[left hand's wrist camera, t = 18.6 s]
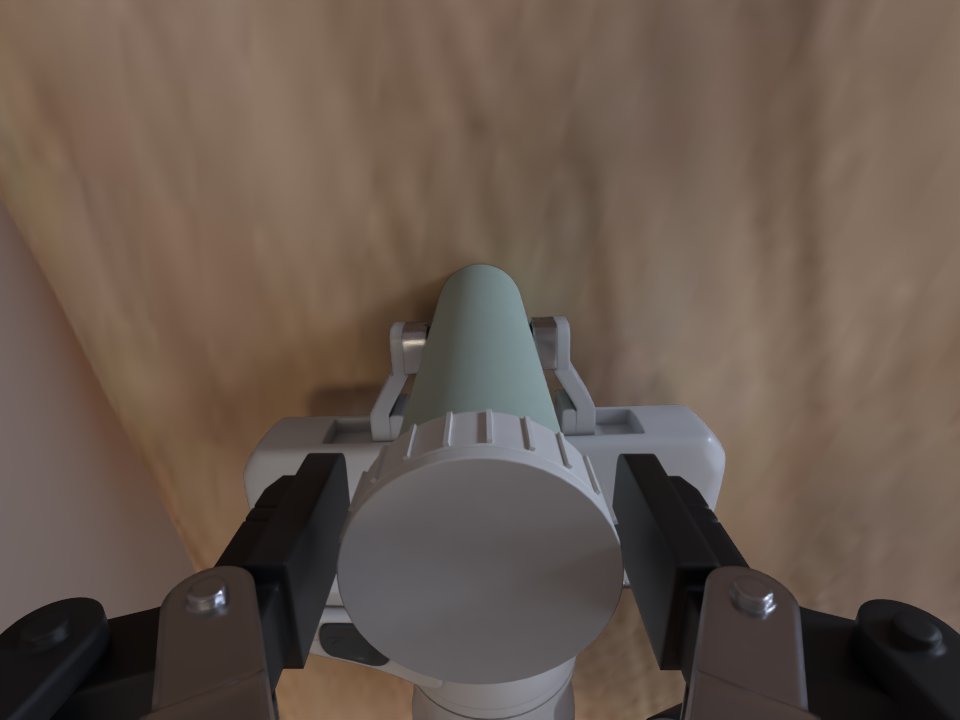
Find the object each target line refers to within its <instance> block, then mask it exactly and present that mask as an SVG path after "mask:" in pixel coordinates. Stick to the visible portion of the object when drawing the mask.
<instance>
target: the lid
mask: <svg viewBox="0 0 960 720" xmlns="http://www.w3.org/2000/svg"><path fill="white" fill-rule="evenodd" d="M348 511H349V513H348V515H347V518H346V521H345V523H344V526H343V529H342V531H341V534H340V537H339V541H338V543H340V546H339V551H338V557H337V583H338V588H339V594H340V597H341V600H342V602H343V605H344V608H345V610H346V612H347V614H348V616H349V618H350V620H351V621H352V623H353V624H354V626H355V627H356V628H357V630H358V631H359V632H360V634H361V635H362V636H363V637H364V638H365V639H366V640H367V641H368V642H369V643H370V644H371V645H372V646H373V647H374V648H376V649H377V650H378V651H379V652H380V653H382V654H383V655H384V656H386V657H387V658H389V659H391V660H392V661H394V662H395V663H397V664H399V665H401V666H403V667H405V668H407V669H409V670H411V671H413V672H416V673H419V674H422V675H424V676H427V677H431V678H434V679H438V680H442V681H448V682H454V683H460V684H475V685H481V684H499V683H507V682H513V681H518V680H522V679H527V678H530V677H533V676H536V675H539V674H542V673H545V672H547V671H549V670H551V669H554V668H556V667H558V666H560V665H562V664H563V663H565V662H567V661H569V660H570V659H572V658H573V657H575V656H576V655H577V654H579V653H580V652H581V651H583V650H584V649H585V648H587V647H588V646H589V645H590V644H591V643H592V642H593V641H594V640H595V639H596V638H597V637H598V635H599V634H600V633H601V632H602V630H603V629H604V628H605V627H606V625H607V624H608V622H609V620H610V619H611V617H612V615H613V614H614V612H615V609H616V607H617V604H618V602H619V599H620V596H621V591H622V587H623V581H624V559H623V551H622V548H621V544H620V541H619V537H618V535H617V532H616V529H615V527H614V525H616V524H618V522H617V519H616V516H615V514H614V511H613V508H612V506H611V503H610V500H609V498H608V495H607V492H606V490H605V487H604V485H603V483H601V484H599V483H598V481H597V479H596V476H595V474H594V471H593V468H592V465H591V463H590V460H589V458H588V456H587V455H584V456H582V455H581V454H580V453H579V452H578V451H577V450H576V448H574V447H573V446H572V445H571V444H570V443H569V442H567V441H566V440H565V438H564V434H563V433H561V432H560V431H559V432H558V433H557V434H556V433H555V432H553V431H552V430H550V429H548V428H546V427H544V426H542V425H540V424H538V423H536V422H534V421H531V420H530V417H529V416H524V418H521V417H518V416H514V415H509V414H504V413H497V412H492V410H491V409H486V412H484V411H482V412H463V413H457V414H452V411H451V412H447V413H446V416H443V417H439V418H436V419H432V420H430V421H428V422H425V423H423V424H421V425H418V426H416V424H413V425H411V426H410V430H409V431H407V432H406V433H404V434H402V435H401V436H400V437H398V438H397V439H396V440H394V441H393V442H392V443H391V444H389V445H388V446H387V445H385V444H384V445H383V446H382V447H381V450H380V453H379V456H378V457H377V458H376V460H375V461H374V462H373V464H372V465H371V467H370V468H369V470H368V472H366V471H363V473H362V475H361V477H360V480H359V483H358V485H357V488H356V491H355V493H354V496H353V499H352V501H351V504H350V506H349V509H348Z"/></svg>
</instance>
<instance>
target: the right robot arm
mask: <svg viewBox="0 0 960 720" xmlns="http://www.w3.org/2000/svg"><path fill="white" fill-rule="evenodd" d="M529 326H530V330H531V333H532V336H533V340H534V343H535V346H536V350H537V353H538V357H539V360H540V363H541V367H542V370H553V371H554V373H555V374H556V376H557V377H558V379H559V381H560V382H561V384H562V386H563V387H564V389H558V390H557V391H555V409H554V410H555V414H556V417H557V420H558V424H559V427H560V430H561V433H563V434H564V438H565V440H566V441H567V442H569V443H570V444H571V445H572V446H573V447H574V448H576V450H577V451H578V452H579V453H580V454H581V455H582V456H584V455H587V456H588V458H589V460H590V463H591V465H592V468H593V471H594V474H595V476H596V479H597V481H598V483H599V484H601V483H603V485H604V487H605V490H606V492H607V495H608V498H609V500H610V503H611V506H612V503H613V494H614V484H615V475H616V465H617V459H618V456H619V455H620V454H655V455H656V457H657V458H658V460H659V461H660V463H661V465H662V467H663V468H664V470H665V472H666V473H667V475H668V476H681V477H682V478H683V479H685V480H686V481H687V482H689V483H690V484H691V485H693V486H694V487H695V488H697V489H698V490H699V492H700V493H701V495H702V496H703V498H704V499H705V501H706V502H707V504H708V505H709V509H711V510H712V511H713V513H714V509H715V506H716V503H717V499H718V495H719V491H720V488H721V483H722V479H723V475H724V469H725V459H726V458H725V453H724V450H723V448H722V445H721V444H720V442H719V441H718V439H717V438H716V436H715V435H714V434H713V432H712V431H711V430H710V428H709V427H708V426H707V425H706V424H705V423H704V422H703V421H702V420H701V419H700V418H699V417H698V416H697V415H696V414H695V413H694V412H693V411H692V410H691V409H689V408H688V407H686V406H684V405H649V406H619V407H595V406H594V403H593V401H592V399H591V397H590V395H589V393H588V390H587V388H586V386H585V385H584V383H583V381H582V380H581V378H580V377H579V375H578V373H577V372H576V370H575V368H574V367H573V365H572V363H571V362H570V328H569V323H568V321H567V319H566V318H565V316H559V317H535V318H530V320H529ZM429 331H430V323H429V322H395V323H393V325H392V327H391V329H390V340H389V343H390V353H391V363H392V369H391V371H390V373H389V375H388V377H387V379H386V381H385V383H384V385H383V387H382V389H381V391H380V393H379V395H378V398H377V400H376V402H375V404H374V407H373V409H372V411H371V414H370V415H344V416H314V417H287V418H283V419H281V420H279V421H278V422H277V423H275V425H274V426H273V427H272V428H271V429H270V430H269V431H268V432H267V433H266V435H265V436H264V437H263V438H262V439H261V440H260V442H259V443H258V444H257V446H256V447H255V449H254V450H253V452H252V453H251V455H250V457H249V459H248V460H247V463H246V465H245V469H244V486H245V492H246V496H247V500H248V504H249V508H250V511H251V509H252V508H254V506H255V503H256V502H257V500H258V499H259V497H260V496H261V494H262V493H263V491H264V490H265V488H267V487H268V486H269V485H271V484H272V483H273V482H275V481H276V480H277V479H279V478H280V477H282V476H283V475H295V474H296V473H297V471H298V469H299V468H300V466H301V464H302V462H303V461H304V459H305V457H306V456H307V454H309V453H343V454H344V456H345V460H346V468H347V477H348V487H349V497H350V504H351V501H352V499H353V496H354V493H355V491H356V488H357V485H358V483H359V480H360V477H361V475H362V473H363V471H366V472H368V470H369V468H370V467H371V465H372V464H373V462H374V461H375V460H376V458H377V457H378V456H379V453H380V450H381V447H382V446H383V445H384V444H385V445H387V446H388V445H389V444H391V443H392V442H393V441H394V440H396V439H397V438H398V436H399V432H400V429H401V425H402V422H403V419H404V415H405V412H406V409H407V405H408V402H409V398H410V396H408V395H407V394H399V393H400V391H401V390H402V388H403V386H404V384H405V382H406V380H407V378H408V376H409V374H417V371H418V368H419V365H420V361H421V358H422V354H423V351H424V348H425V344H426V341H427V338H428V334H429ZM627 588H631V586H630V583H629V580H628V577H627V574H626V571H625V569H624V581H623V587H622V589H627ZM309 653H312V654H315V655H318V656H323V657H328V658H332V659H337V660H342V661H346V662H351V663H355V664H359V665H363V666H367V667H370V668H373V669H377V670H380V671H383V672H386V673H389V674H392V675H395V676H397V677H399V678H402V679H404V680H407V681H409V682H411V683H414V684H415V685H414V690H413V698H412V717H413V720H575V704H574V693H573V687H572V684H571V677H572V674H573V671H574V668H575V663H576V657H577V655H576V656H575V657H573V658H572V659H570V660H569V661H567V662H565V663H563V664H562V665H560V666H558V667H556V668H554V669H551V670H549V671H547V672H545V673H542V674H539V675H536V676H533V677H530V678H527V679H522V680H518V681H513V682H507V683H499V684H481V685H475V684H460V683H454V682H448V681H442V680H438V679H434V678H431V677H427V676H424V675H422V674H419V673H416V672H413V671H411V670H409V669H407V668H405V667H403V666H401V665H399V664H397V663H395V662H394V661H392V660H391V659H389V658H387V657H386V656H384V655H383V654H382V653H380V652H379V651H378V650H377V649H376V648H374V647H373V646H372V645H371V644H370V643H369V642H368V641H367V640H366V639H365V638H364V637H363V636H362V635H361V634H360V632H359V631H358V630H357V628H356V627H355V626H354V624H353V623H352V621H351V620H350V618H349V616H348V614H347V612H346V610H345V608H344V605H343V602H342V600H341V597H340V594H339V588H338V583H337V573H336V576H335V579H334V582H333V585H332V588H331V590H330V593H329V596H328V599H327V602H326V605H325V608H324V611H323V614H322V616H321V619H320V622H319V625H318V628H317V631H316V634H315V637H314V639H313V642H312V645H311V648H310V651H309ZM681 710H682V703H680V704H678V705H676V706H674V707H672V708H669V709H667V710H665V711H663V712H660V713H658V714H656V715H654V716H652V717H650V718H647V719H646V720H680V716H681Z"/></svg>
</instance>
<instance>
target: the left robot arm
mask: <svg viewBox="0 0 960 720" xmlns="http://www.w3.org/2000/svg"><path fill="white" fill-rule="evenodd" d="M349 506H350V497H349V487H348V477H347V468H346V460H345V456H344V454H343V453H309V454H307V456H306V457H305V459H304V461H303V462H302V464H301V466H300V468H299V469H298V471H297V473H296V474H295V475H283V476H282V477H280V478H279V479H277V480H276V481H275V482H273V483H272V484H271V485H269V486H268V487H267V488H265V490H264V491H263V493H262V494H261V496H260V497H259V499H258V500H257V502H256V503H255V506H254V508H252V509H251V511H250V513H249V514H248V516H247V517H246V521H245V522H243V523H242V525H241V526H240V528H239V529H238V531H237V532H236V534H235V536H234V537H233V539H232V540H231V542H230V543H229V545H228V546H227V548H226V549H225V551H224V552H223V554H222V555H221V557H220V558H219V560H218V562H217V563H216V565H215V566H214V567H213V568H209V569H206V570H203V571H200V572H198V573H196V574H194V575H192V576H190V577H188V578H186V579H185V580H183V581H182V582H180V583H179V584H178V585H177V586H175V587H174V588H173V589H172V590H171V591H170V592H169V594H168V595H167V596H166V598H165V599H164V601H163V603H162V605H161V606H160V607H157V608H153V609H150V610H146V611H142V612H137V613H133V614H129V615H125V616H120V617H116V618H112V619H108V620H107V618H106V615H105V612H104V609H103V607H102V605H101V604H100V603H99V602H98V601H96V600H94V599H91V598H82V597H78V598H70V599H65V600H60V601H57V602H54V603H51V604H48V605H46V606H43V607H41V608H39V609H37V610H35V611H33V612H31V613H29V614H27V615H26V616H24V617H23V618H21V619H19V620H18V621H16V622H15V623H14V624H13V625H11V626H10V627H9V628H7V629H6V630H5V631H4V632H3V633H2V634H1V635H0V720H280V716H279V710H278V703H277V697H276V691H275V688H276V685H277V683H278V680H279V678H280V675H281V672H282V670H283V669H303V668H304V665H305V663H306V660H307V657H308V654H309V651H310V648H311V645H312V642H313V639H314V637H315V634H316V631H317V628H318V625H319V622H320V619H321V616H322V614H323V611H324V608H325V605H326V602H327V599H328V596H329V593H330V590H331V588H332V585H333V582H334V579H335V576H336V573H337V557H338V551H339V546H340V543H338V541H339V537H340V534H341V531H342V529H343V526H344V523H345V521H346V518H347V515H348V513H349V511H348V509H349ZM612 508H613V511H614V514H615V516H616V519H617V522H618V524H616V525H614V527H615V529H616V532H617V535H618V537H619V541H620V544H621V548H622V551H623V559H624V569H625V571H626V574H627V577H628V580H629V583H630V586H631V588H632V591H633V594H634V597H635V600H636V603H637V605H638V608H639V611H640V614H641V617H642V620H643V622H644V625H645V628H646V631H647V634H648V637H649V639H650V642H651V645H652V648H653V651H654V654H655V656H656V659H657V662H658V665H659V668H660V670H681V671H682V674H683V677H684V679H685V682H686V686H685V691H684V697H683V703H682V710H681V716H680V720H960V635H959V634H958V633H957V632H956V631H955V630H954V629H952V628H951V627H950V626H949V625H947V624H946V623H944V622H943V621H941V620H940V619H938V618H937V617H935V616H933V615H931V614H930V613H928V612H926V611H924V610H921V609H919V608H917V607H914V606H912V605H909V604H906V603H902V602H898V601H893V600H886V599H875V600H870V601H868V602H865V603H864V604H863V605H861V607H860V608H859V610H858V613H857V616H856V619H855V620H851V619H847V618H842V617H838V616H834V615H830V614H826V613H822V612H817V611H813V610H810V609H806V608H803V607H800V606H799V605H798V603H797V601H796V599H795V598H794V596H793V595H792V594H791V592H790V591H789V590H788V589H787V588H786V587H785V586H783V585H782V584H781V583H780V582H778V581H777V580H775V579H774V578H772V577H770V576H768V575H766V574H764V573H762V572H760V571H757V570H754V569H751V568H750V567H749V566H748V564H747V563H746V561H745V560H744V558H743V557H742V555H741V554H740V552H739V551H738V549H737V548H736V546H735V545H734V543H733V542H732V540H731V538H730V537H729V535H728V534H727V532H726V531H725V529H724V528H723V526H722V525H721V523H718V519H717V517H716V516H715V514H714V513H713V511H712V510H711V509H709V505H708V504H707V502H706V501H705V499H704V498H703V496H702V495H701V493H700V492H699V490H698V489H697V488H695V487H694V486H693V485H691V484H690V483H689V482H687V481H686V480H685V479H683V478H682V477H681V476H668V475H667V473H666V472H665V470H664V468H663V467H662V465H661V463H660V461H659V460H658V458H657V457H656V455H655V454H620V455H619V456H618V459H617V465H616V475H615V484H614V494H613V503H612Z"/></svg>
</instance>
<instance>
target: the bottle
mask: <svg viewBox="0 0 960 720" xmlns="http://www.w3.org/2000/svg"><path fill="white" fill-rule="evenodd" d="M486 409H491V410H492V412H497V413H504V414H509V415H514V416H518V417H521V418H524V416H529V417H530V420H531V421H534V422H536V423H538V424H540V425H542V426H544V427H546V428H548V429H550V430H552V431H553V432H555V433H556V434H557V433H558V432H559V431H560V432H561V430H560V427H559V424H558V420H557V417H556V414H555V410H554V407H553V403H552V400H551V397H550V393H549V390H548V387H547V383H546V380H545V377H544V373H543V370H542V367H541V363H540V360H539V357H538V353H537V350H536V346H535V343H534V340H533V336H532V333H531V330H530V326H529V323H528V320H527V316H526V313H525V310H524V306H523V303H522V299H521V296H520V293H519V290H518V288H517V286H516V284H515V283H514V281H513V280H512V279H511V278H510V277H509V275H507V274H506V273H505V272H503V271H502V270H500V269H498V268H496V267H493V266H489V265H480V264H478V265H471V266H467V267H465V268H462V269H460V270H458V271H457V272H455V273H454V274H453V275H452V276H451V277H450V278H449V279H448V280H447V281H446V283H445V285H444V286H443V288H442V291H441V294H440V297H439V300H438V304H437V307H436V311H435V314H434V317H433V321H432V324H431V327H430V331H429V334H428V338H427V341H426V344H425V348H424V351H423V354H422V358H421V361H420V365H419V368H418V371H417V375H416V378H415V382H414V385H413V388H412V392H411V395H410V398H409V402H408V405H407V409H406V412H405V415H404V419H403V422H402V425H401V429H400V432H399V436H398V437H400V436H401V435H402V434H404V433H406V432H407V431H409V430H410V426H411V425H413V424H416V426H418V425H421V424H423V423H425V422H428V421H430V420H432V419H436V418H439V417H443V416H446V413H447V412H451V411H452V414H457V413H463V412H482V411H484V412H486Z"/></svg>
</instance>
